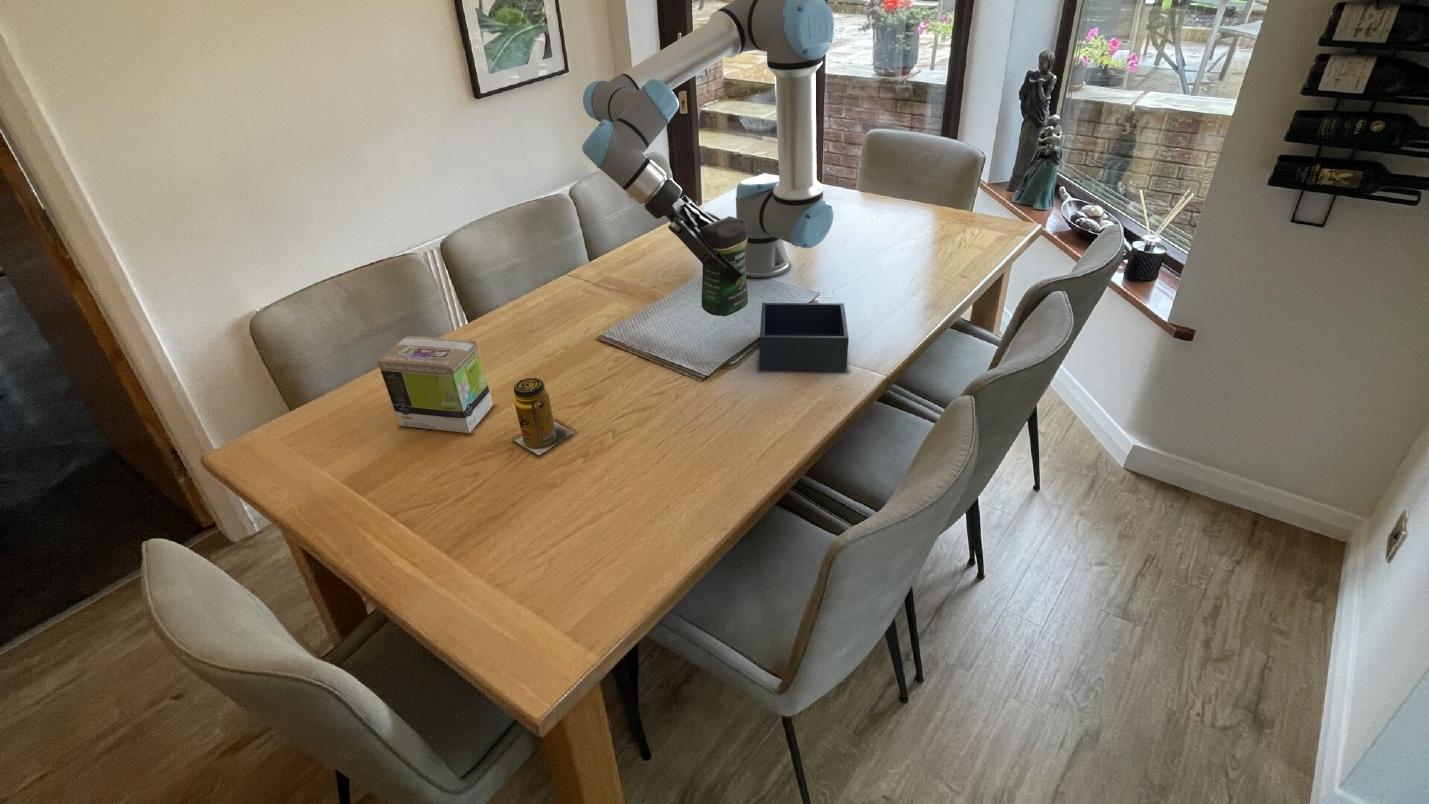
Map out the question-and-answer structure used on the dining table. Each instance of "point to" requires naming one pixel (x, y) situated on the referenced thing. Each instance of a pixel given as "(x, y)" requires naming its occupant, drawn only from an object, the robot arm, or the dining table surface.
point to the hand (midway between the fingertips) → (739, 267)
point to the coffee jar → (731, 244)
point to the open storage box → (803, 337)
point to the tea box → (436, 383)
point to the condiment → (536, 417)
